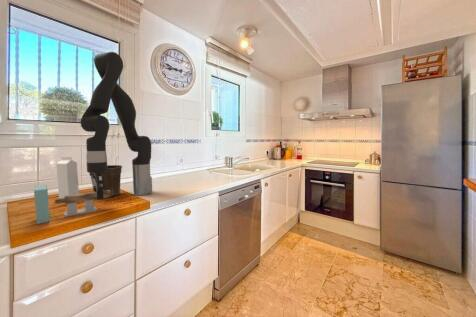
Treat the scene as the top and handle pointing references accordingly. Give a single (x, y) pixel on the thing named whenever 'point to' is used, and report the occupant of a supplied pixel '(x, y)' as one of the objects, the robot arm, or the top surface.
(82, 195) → the needle
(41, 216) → the teal rectangular frame
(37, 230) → the top surface
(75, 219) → the top surface
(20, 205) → the top surface
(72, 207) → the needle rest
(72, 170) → the milk
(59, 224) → the top surface
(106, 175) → the plant pot
